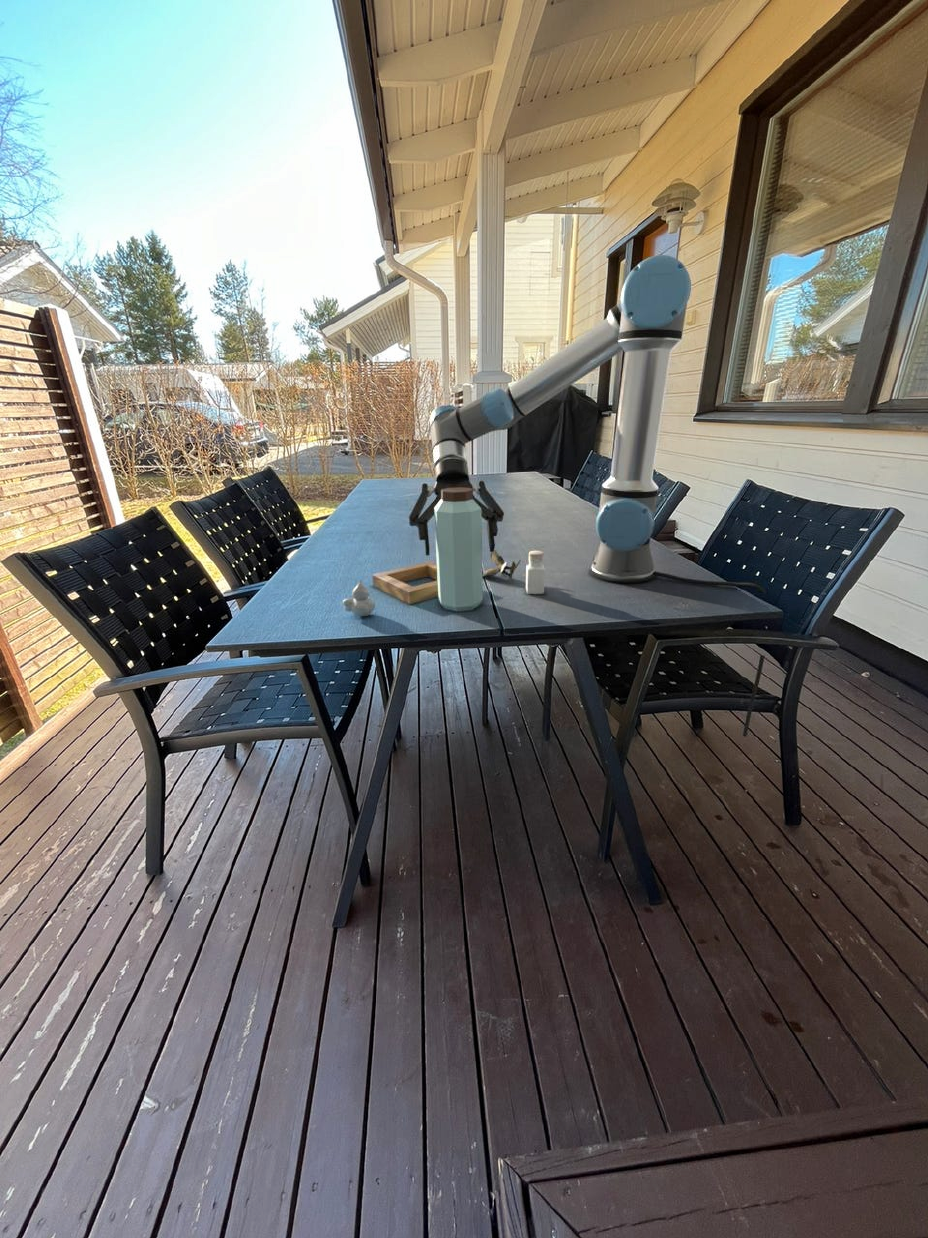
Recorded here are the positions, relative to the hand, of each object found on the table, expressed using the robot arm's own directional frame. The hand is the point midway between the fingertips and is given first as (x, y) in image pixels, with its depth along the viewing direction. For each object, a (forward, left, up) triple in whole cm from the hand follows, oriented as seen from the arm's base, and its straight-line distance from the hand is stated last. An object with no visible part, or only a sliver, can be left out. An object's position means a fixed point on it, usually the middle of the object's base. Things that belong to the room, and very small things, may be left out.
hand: (460, 550), depth 109 cm
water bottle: (+2, -1, -13) cm, 13 cm away
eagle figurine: (+11, -20, -13) cm, 26 cm away
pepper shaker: (-3, -19, -13) cm, 23 cm away
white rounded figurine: (+11, +19, -13) cm, 25 cm away
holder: (+18, -1, -13) cm, 22 cm away
